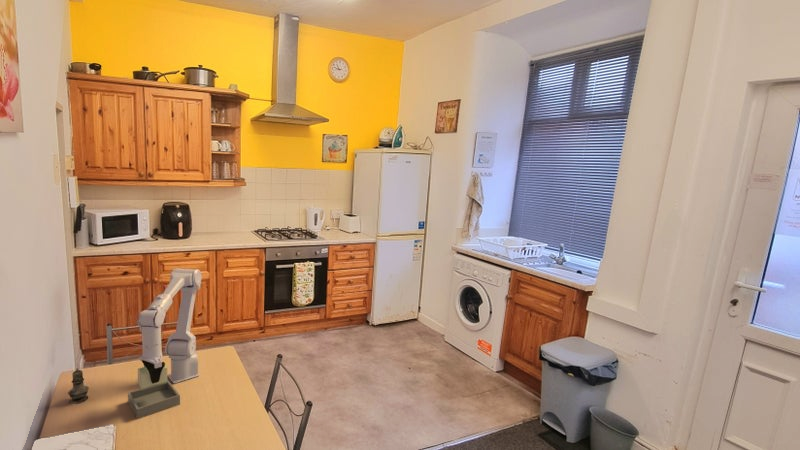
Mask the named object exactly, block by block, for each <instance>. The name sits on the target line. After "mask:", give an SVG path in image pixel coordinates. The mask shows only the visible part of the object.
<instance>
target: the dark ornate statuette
mask: <svg viewBox="0 0 800 450" xmlns="http://www.w3.org/2000/svg"><path fill="white" fill-rule="evenodd" d="M84 381H85V378H84V375H83V370H80V369H79V368H78V367H77V368H76V369H75V370H74V371H73V372H72V380H71V383H72V388H71V389H70V390H69V391H68V392H67V394H68V396H69V397H70V398H71V399H70V400H69V403H70V404H71V403H72V405H77V404H81V403H83V402H86V401H87V400H88V399H89V395H87V394H88V392H89V389H90V388H89V386H88V385H84V384H85V383H84Z"/></svg>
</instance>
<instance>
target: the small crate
mask: <svg viewBox="0 0 800 450" xmlns="http://www.w3.org/2000/svg"><path fill="white" fill-rule="evenodd" d="M168 381H169V380H168V367H167V365H166V364H165V366H164V368H163V369H162V372H161V375H160V380H159V382H157V383H153V384H152V382H151V378H150V374H149V371H148V369H147V368H146V367H144V366H143V367H139V368H137V385H138V387H139V389H141V390H146V389H149V388H152V387H156V386H159V385H162V384H166V383H168Z"/></svg>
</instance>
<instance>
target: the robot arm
mask: <svg viewBox="0 0 800 450" xmlns="http://www.w3.org/2000/svg"><path fill="white" fill-rule="evenodd" d="M169 278H170V279H169V280H170V281H169V282H168V284H167V286H166V287H165V289H164V291H163V292H162V293H160V294H158V295H157V296H156V297H155V298H154V300H153V301H152V302H151V304H150V305H149V306H148V308H147V309H144V310H142V311H141V312H140V313H139V314H138V316H137V317H138V318H137V320H136V321H137V326H138V327H139V331H140V332H141V339H142V340H141V341H142V346H141V347H142V355H141V356H139V357H138V360H139V361H141V362H142V364H143V367H146V368H147V369H148V371H149V374H150V378H151V382H152V384H153V383H157V382H159V380H160V375H161V372H162V369H163V368H164V366H165V365H166V362H165V361H162V358H163V352H162V348H163V347H162V325H163V324H164V321H165V317H166V315H167V314H166V313H167V312H168V310H170V309H169V308H170V307H171V305H172V304H173V302H174V301H173V298H174V296H175V295H176V294H177V293H178V292H179V291H181V292H182V293H181V300H180V305H179V310H178V311H179V312H178V317H177V322H176V329H175V332H174V333H172V334H170V335H169V336H168V339H167V342H166V344H165V346H164V347H165V348H164V352H165V354H166V356H168V359H170V373H169V374H167V378H169V379H170V382H172V384H178V383H181V382H183V381H186V380H187V381H188V380H191V379H194V378H196V377H199V376H200V374H199V358H198V355H197V353H196V349H197V343H196V342H197V338H196V336H195V335H194V334H193V333H192V332H191V326H192V320H193V314H194V308H195V302H196V296H197V291H199V290H200V289H201V283H202V279H203V277H202V273H201V271H200V269H199V268H197V269H196V268H195V269H193V268H192V269H190V268H177V267H176V268H173V270H171V273H170V277H169Z"/></svg>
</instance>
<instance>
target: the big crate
mask: <svg viewBox="0 0 800 450" xmlns="http://www.w3.org/2000/svg"><path fill="white" fill-rule="evenodd" d="M167 381H168V383H166V384H162V385H159V386H156V387H152V388H149V389H146V390H141V389H140V388H139V389H136V390H132V391H129V392H127V403H128V404H129V406H130V408H131V410H132V412H133V413H134V416H135V417H136V419H137V420H138V419H142V418H145V417H147V416H150V415H153V414H155V413H159V412H162V411H164V410H167V409H170V408H174V407H176V406H180V405H181V397H180V396H181V395H180V393H179V392H178V391H177V389H176V388H175V387H174V385H173V383H171V381H169V380H167Z"/></svg>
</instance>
